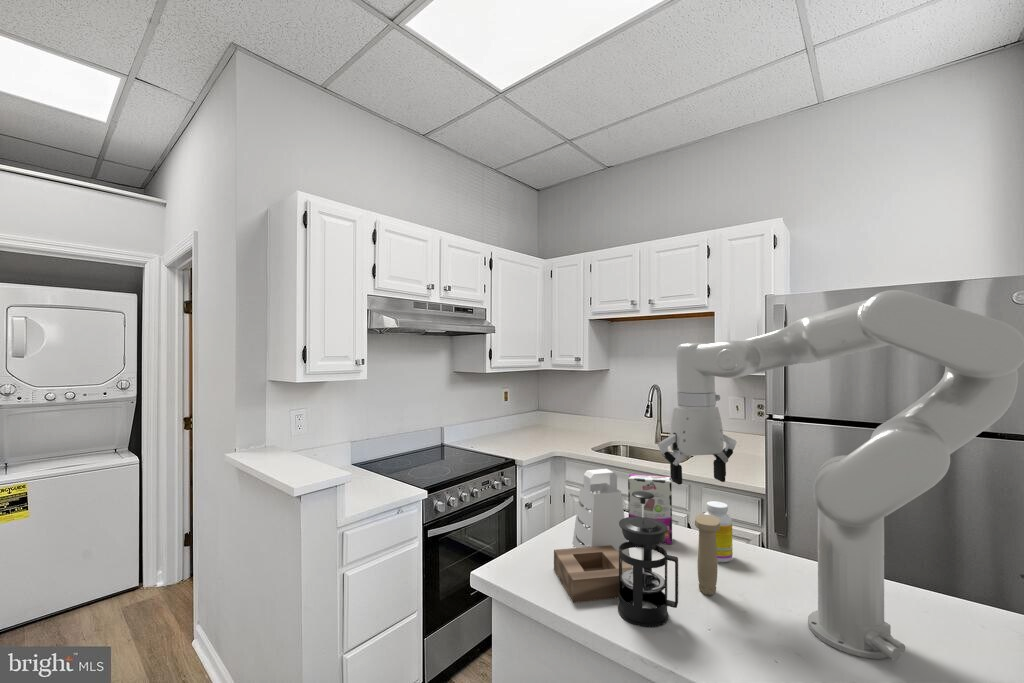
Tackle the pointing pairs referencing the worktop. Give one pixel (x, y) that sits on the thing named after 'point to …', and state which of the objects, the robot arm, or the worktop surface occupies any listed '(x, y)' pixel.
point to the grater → (599, 514)
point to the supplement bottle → (722, 530)
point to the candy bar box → (652, 500)
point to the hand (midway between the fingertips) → (698, 481)
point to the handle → (707, 552)
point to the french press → (644, 571)
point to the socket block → (589, 572)
